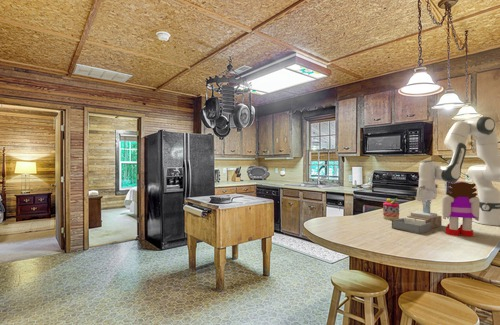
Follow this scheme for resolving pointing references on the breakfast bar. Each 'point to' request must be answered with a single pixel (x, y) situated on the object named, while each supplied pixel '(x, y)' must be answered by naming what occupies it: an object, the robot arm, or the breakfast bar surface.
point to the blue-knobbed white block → (425, 212)
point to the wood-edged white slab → (430, 220)
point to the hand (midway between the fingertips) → (426, 207)
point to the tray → (410, 226)
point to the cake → (391, 210)
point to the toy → (460, 208)
